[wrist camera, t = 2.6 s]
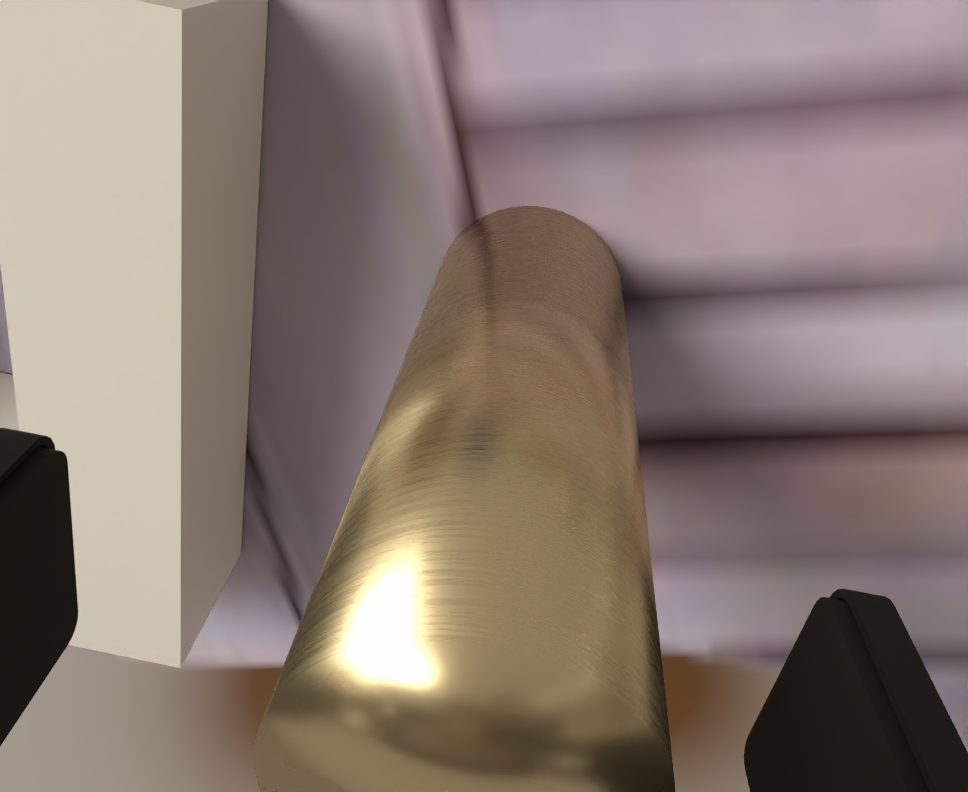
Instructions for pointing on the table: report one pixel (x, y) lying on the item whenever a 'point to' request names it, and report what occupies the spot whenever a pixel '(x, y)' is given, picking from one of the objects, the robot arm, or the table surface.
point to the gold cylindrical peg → (489, 550)
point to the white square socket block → (135, 291)
